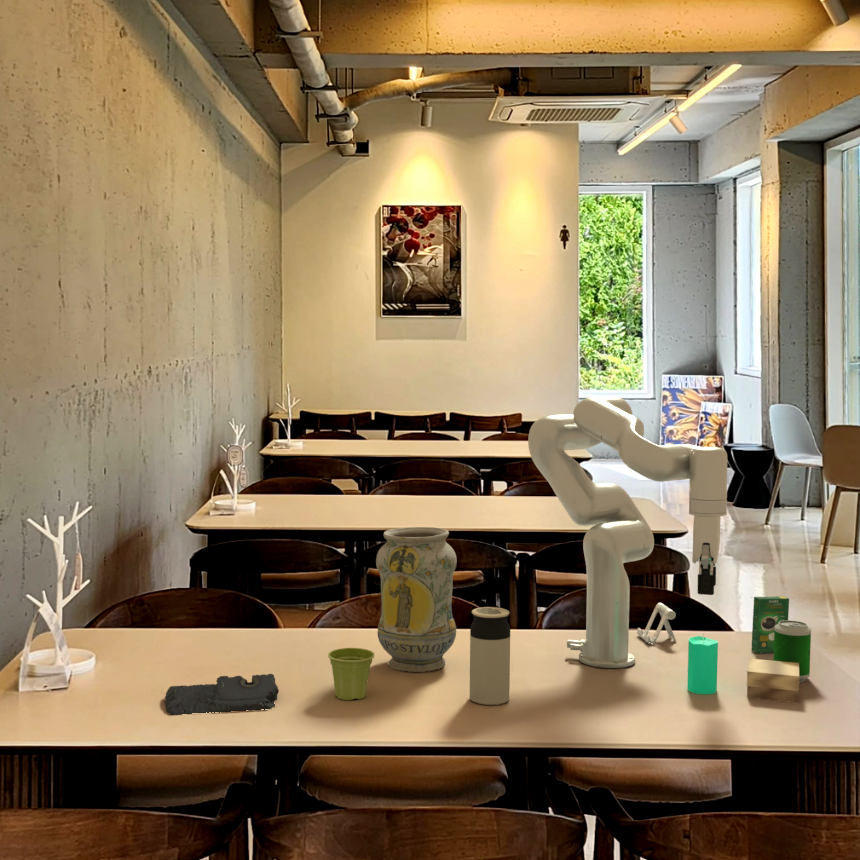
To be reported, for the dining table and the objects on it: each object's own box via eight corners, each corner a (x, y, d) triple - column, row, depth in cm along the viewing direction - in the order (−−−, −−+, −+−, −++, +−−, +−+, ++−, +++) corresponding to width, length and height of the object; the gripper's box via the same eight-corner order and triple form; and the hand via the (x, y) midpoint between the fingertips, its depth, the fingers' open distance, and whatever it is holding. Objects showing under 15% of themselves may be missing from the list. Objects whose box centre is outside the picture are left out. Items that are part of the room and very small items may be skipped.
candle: (683, 685, 229) (684, 629, 229) (711, 685, 230) (712, 629, 229) (692, 694, 223) (694, 636, 223) (721, 694, 224) (722, 636, 223)
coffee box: (781, 649, 259) (783, 594, 258) (788, 652, 256) (790, 597, 255) (750, 651, 257) (752, 596, 257) (756, 654, 255) (758, 598, 254)
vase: (361, 670, 239) (362, 534, 237) (394, 650, 255) (395, 522, 253) (438, 680, 232) (439, 540, 230) (467, 658, 248) (468, 528, 247)
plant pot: (381, 692, 223) (381, 650, 223) (363, 705, 214) (363, 662, 214) (339, 687, 226) (339, 645, 226) (320, 700, 217) (320, 657, 217)
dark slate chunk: (165, 695, 222) (165, 672, 221) (274, 688, 227) (274, 666, 226) (164, 719, 207) (163, 695, 206) (280, 712, 212) (281, 688, 211)
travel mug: (482, 708, 213) (483, 617, 212) (462, 696, 221) (463, 608, 219) (516, 702, 217) (518, 613, 216) (496, 691, 224) (497, 605, 223)
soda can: (812, 684, 231) (813, 628, 230) (774, 682, 233) (776, 626, 232) (807, 674, 238) (808, 620, 238) (771, 672, 240) (772, 618, 239)
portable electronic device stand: (637, 636, 270) (637, 603, 270) (667, 635, 271) (668, 602, 271) (647, 645, 262) (648, 611, 261) (679, 644, 263) (680, 610, 262)
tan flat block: (746, 700, 222) (747, 685, 222) (748, 686, 231) (748, 672, 231) (798, 705, 219) (799, 690, 219) (797, 691, 228) (798, 677, 228)
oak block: (746, 685, 222) (747, 671, 222) (748, 672, 231) (749, 658, 231) (798, 691, 219) (799, 676, 218) (798, 677, 228) (798, 663, 228)
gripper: (691, 501, 234) (690, 581, 235) (686, 511, 217) (685, 597, 218) (727, 503, 232) (726, 583, 233) (725, 513, 215) (724, 599, 216)
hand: (706, 589), depth 225 cm, fingers open, 9 cm apart
